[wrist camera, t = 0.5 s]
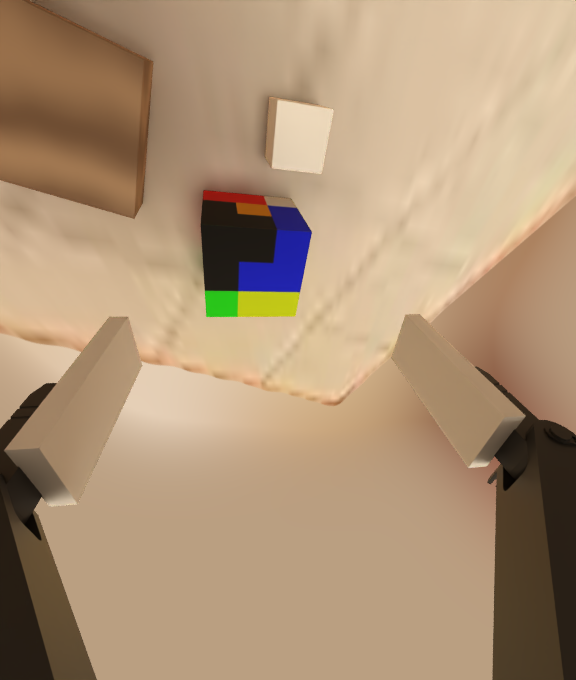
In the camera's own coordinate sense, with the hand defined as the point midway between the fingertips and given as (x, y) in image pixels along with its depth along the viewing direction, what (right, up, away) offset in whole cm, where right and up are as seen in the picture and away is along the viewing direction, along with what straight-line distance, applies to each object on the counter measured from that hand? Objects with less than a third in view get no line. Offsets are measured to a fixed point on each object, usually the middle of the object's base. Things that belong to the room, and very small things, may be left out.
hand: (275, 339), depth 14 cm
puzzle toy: (-5, +13, +22) cm, 26 cm away
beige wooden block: (+1, +22, +15) cm, 27 cm away
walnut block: (-19, +20, +12) cm, 30 cm away
